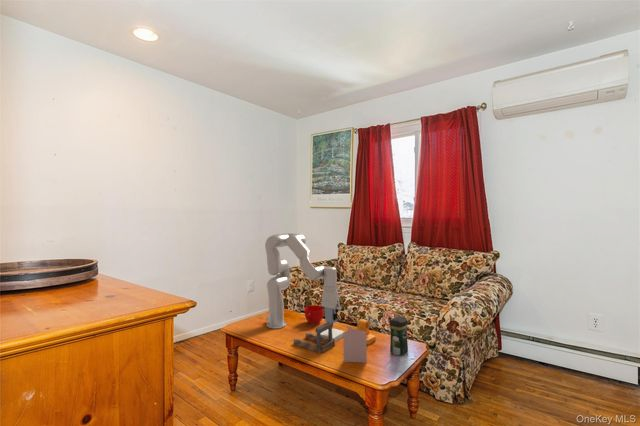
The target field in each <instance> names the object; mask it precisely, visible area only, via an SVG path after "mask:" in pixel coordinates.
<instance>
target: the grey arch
mask: <svg viewBox="0 0 640 426" xmlns="http://www.w3.org/2000/svg"><path fill="white" fill-rule="evenodd" d="M333 327H334V323H331V322H324V324H321V325H319V326H317V327H315V333H316V335H317V341H316V345H317V346H322V345H321V344H322V343H321V333H322V332H323V331H325V330H327V329H328V339H329V340H331V339H332V328H333Z"/></svg>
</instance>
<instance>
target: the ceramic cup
mask: <svg viewBox="0 0 640 426" xmlns="http://www.w3.org/2000/svg"><path fill="white" fill-rule="evenodd" d="M303 310H304V317H305V320H306V321H307V322H308V323H309V324H310V325H312V326H313V325H315V326H316V325H319V324H320V322H321V321H322V320H323V317H324V314H325V311H324V309H323V307H322V306H321V305H319V304H316V305H314V304H313V305H307V306H305V307H304V309H303Z"/></svg>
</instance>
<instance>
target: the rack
mask: <svg viewBox="0 0 640 426" xmlns="http://www.w3.org/2000/svg"><path fill="white" fill-rule="evenodd" d="M305 339H307V340H311V341H314V342H317V334H314V333H311V332H306V333H305ZM292 341H293V345H294V346H298V347H300V348H304V349H306V350H309V351H312V352H315V353H318V354H321V355H322V354H324V353H325V352H326V351H328V350H330V349H332V348H334V347H336V346H335V344H336V343H335V342H336V341H335V340H332V339H331V340H329V339H328V338H325V337H322V336H321V344H324V345H321V346H317V343H316V344H315V343H313V342H309V341H306V340H302V339H300V338H297V337H294V338H293V340H292Z"/></svg>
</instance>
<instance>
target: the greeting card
mask: <svg viewBox="0 0 640 426" xmlns="http://www.w3.org/2000/svg"><path fill="white" fill-rule="evenodd" d="M342 339H343V342H342V343H343V345H342V346H343V347H342V348H343V350H342V351H343V352H342V354H343V363H344V362H345V363H368V361H367V359H368V355H367V354H368V353H367V349H368V348H367V346H368V345H367V341H366V332H363V331H360V330H357V328H352V327H349V326H347V331H345V332H343V337H342Z"/></svg>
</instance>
